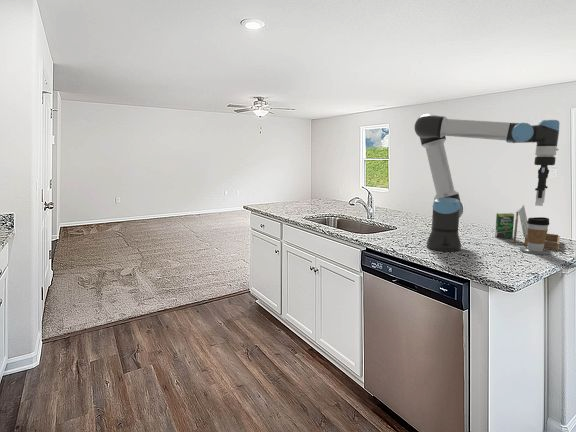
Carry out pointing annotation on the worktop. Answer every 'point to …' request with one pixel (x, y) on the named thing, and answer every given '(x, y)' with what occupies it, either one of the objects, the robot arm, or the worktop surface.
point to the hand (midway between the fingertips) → (539, 204)
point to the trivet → (544, 252)
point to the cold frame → (524, 227)
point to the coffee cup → (537, 233)
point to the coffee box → (504, 225)
